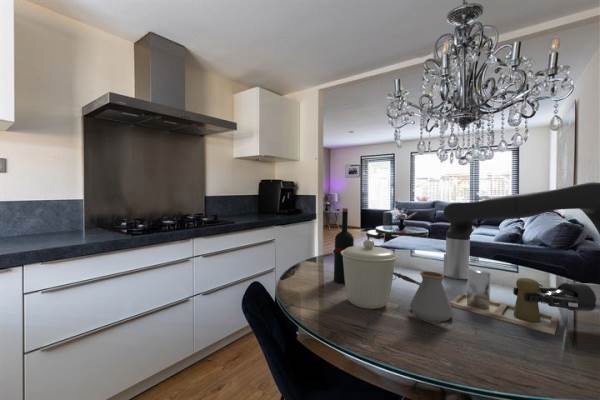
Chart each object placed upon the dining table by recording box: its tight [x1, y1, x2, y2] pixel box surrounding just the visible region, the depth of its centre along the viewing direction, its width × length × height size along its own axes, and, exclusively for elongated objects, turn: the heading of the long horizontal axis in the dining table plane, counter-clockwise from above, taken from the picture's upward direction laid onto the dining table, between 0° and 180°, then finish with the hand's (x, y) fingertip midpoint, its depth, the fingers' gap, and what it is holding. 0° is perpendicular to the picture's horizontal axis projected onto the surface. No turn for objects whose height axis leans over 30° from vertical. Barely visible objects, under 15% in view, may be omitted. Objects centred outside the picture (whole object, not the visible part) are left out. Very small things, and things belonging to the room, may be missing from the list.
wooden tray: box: [449, 292, 559, 336], centre depth 84 cm, size 25×12×2 cm, turn 44°
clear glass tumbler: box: [466, 268, 492, 310], centre depth 88 cm, size 6×6×11 cm
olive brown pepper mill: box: [514, 277, 540, 322], centre depth 80 cm, size 6×6×11 cm
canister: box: [341, 238, 398, 310], centre depth 92 cm, size 18×18×21 cm
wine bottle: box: [333, 207, 355, 285], centre depth 113 cm, size 8×10×30 cm
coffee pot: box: [390, 270, 454, 325], centre depth 80 cm, size 21×12×15 cm, turn 115°
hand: (519, 294), depth 80 cm, fingers closed on olive brown pepper mill, 4 cm apart
